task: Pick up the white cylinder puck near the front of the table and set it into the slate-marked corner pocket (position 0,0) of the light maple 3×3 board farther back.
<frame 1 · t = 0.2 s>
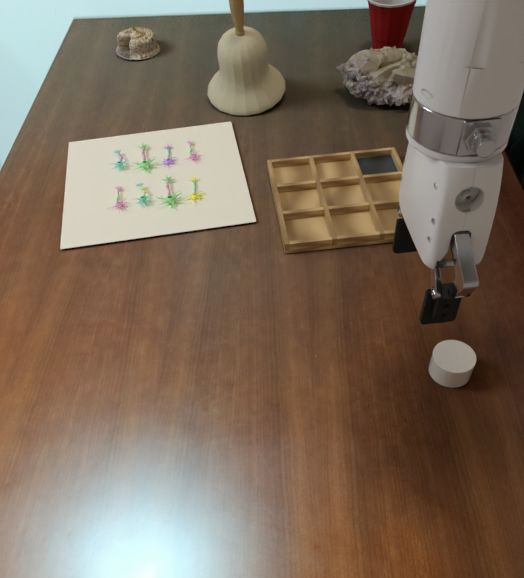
hand: (421, 283, 56), 17 cm above the table, tool pointing down, fingers open, 9 cm apart
bread roll: (444, 172, 96), on the table
white cylinder puck: (449, 371, 71), on the table
printed paper: (155, 181, 98), on the table
handbell: (247, 97, 115), on the table
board: (343, 201, 92), on the table
plastic cup: (385, 53, 124), on the table
geode: (382, 97, 113), on the table
cake: (138, 52, 130), on the table
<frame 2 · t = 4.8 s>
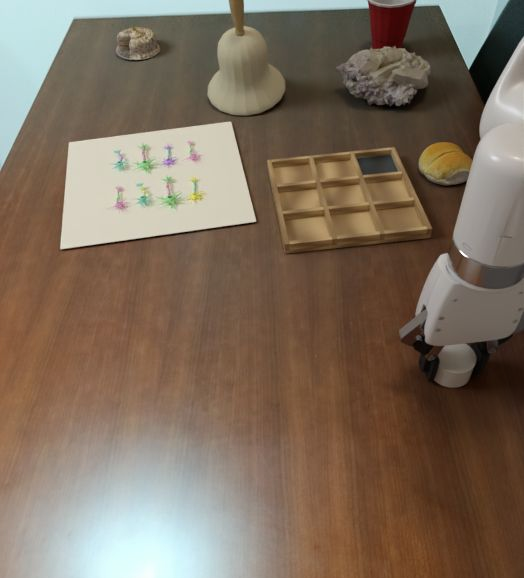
hand: (450, 368, 70), 1 cm above the table, tool pointing down, fingers closed on white cylinder puck, 5 cm apart
white cylinder puck: (449, 371, 71), on the table, touching gripper
everything else where it was.
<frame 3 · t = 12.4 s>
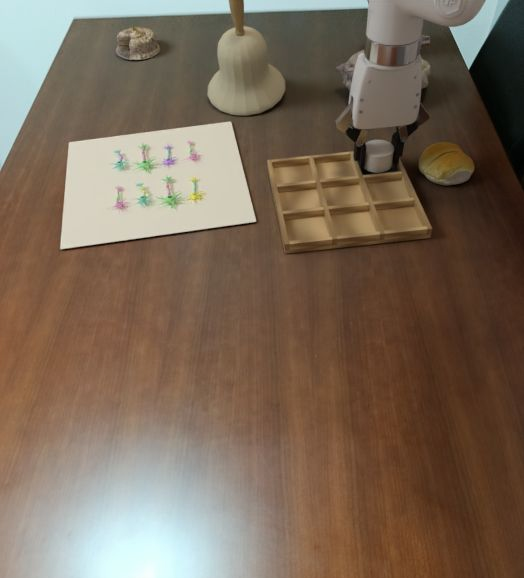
hand: (377, 160, 96), 2 cm above the table, tool pointing down, fingers closed on white cylinder puck, 5 cm apart
white cylinder puck: (376, 164, 96), point 1 cm above the table, touching gripper
everything else where it was.
when the fingers open (2 cm above the table, at t = 18.2 s): white cylinder puck drops 1 cm, resting on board.
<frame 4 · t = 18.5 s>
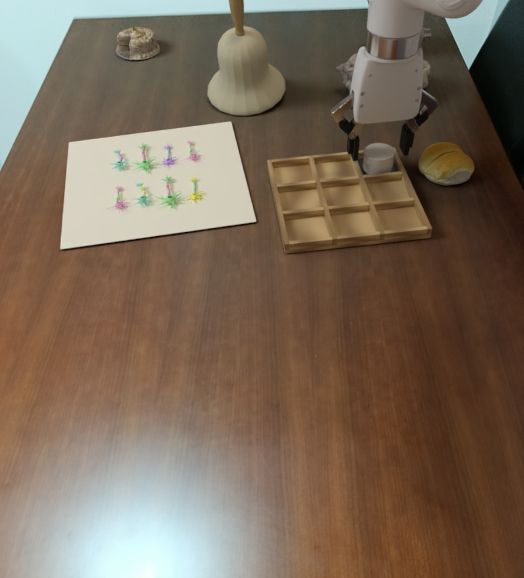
hand: (378, 153, 94), 3 cm above the table, tool pointing down, fingers open, 7 cm apart
white cylinder puck: (377, 167, 96), point 1 cm above the table, touching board
everything else where it was.
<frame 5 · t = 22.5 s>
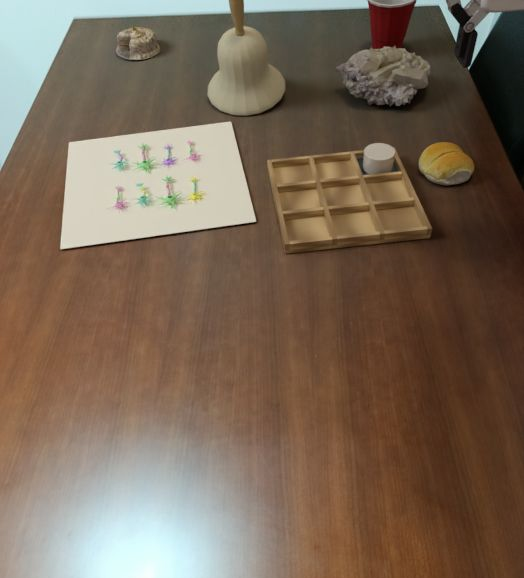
hand: (502, 58, 69), 24 cm above the table, tool pointing down, fingers open, 9 cm apart
nothing on the table moved.
at the end: white cylinder puck 0.1 cm from the target spot in the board, point 0.8 cm above the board's base; white cylinder puck tilted 0°; the gripper is holding nothing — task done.
